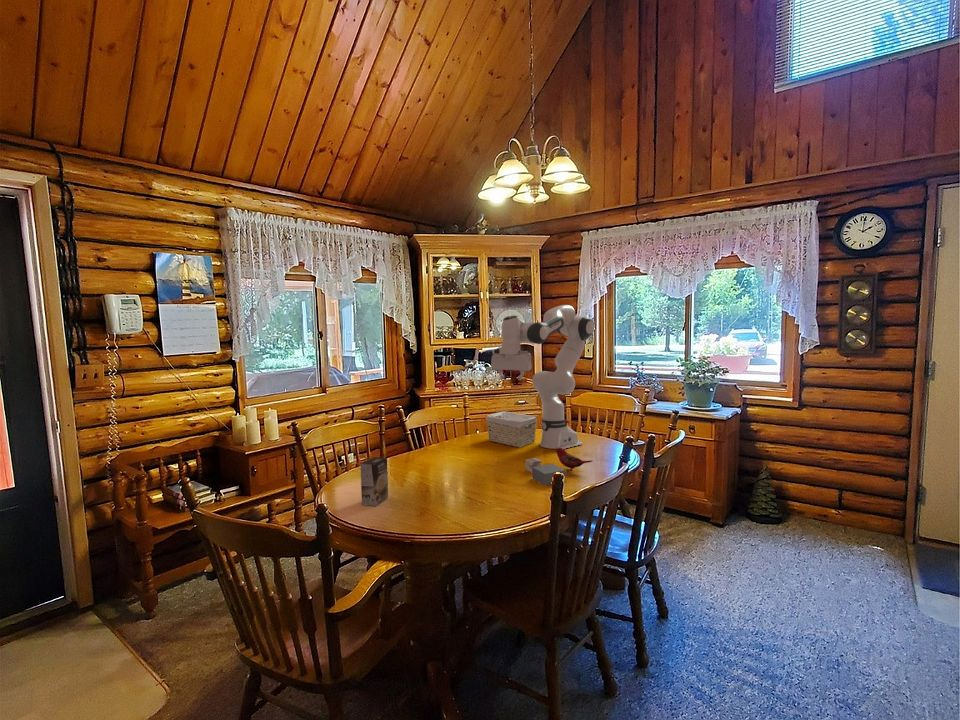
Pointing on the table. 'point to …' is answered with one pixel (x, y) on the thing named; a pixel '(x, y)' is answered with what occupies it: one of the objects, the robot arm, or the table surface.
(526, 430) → the storage basket
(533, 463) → the cream cube
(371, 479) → the coffee box
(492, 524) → the table surface
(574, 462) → the decorative bird figurine
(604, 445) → the table surface
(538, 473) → the grey block
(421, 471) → the table surface
